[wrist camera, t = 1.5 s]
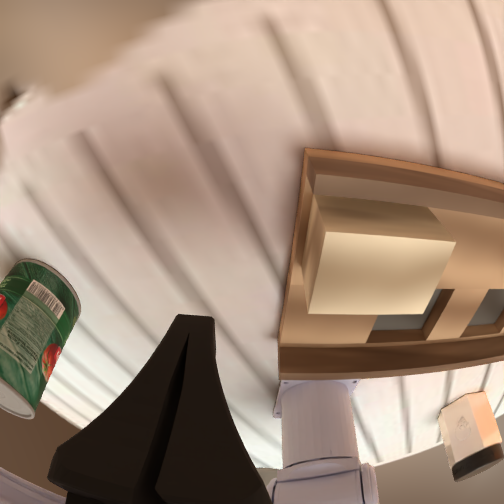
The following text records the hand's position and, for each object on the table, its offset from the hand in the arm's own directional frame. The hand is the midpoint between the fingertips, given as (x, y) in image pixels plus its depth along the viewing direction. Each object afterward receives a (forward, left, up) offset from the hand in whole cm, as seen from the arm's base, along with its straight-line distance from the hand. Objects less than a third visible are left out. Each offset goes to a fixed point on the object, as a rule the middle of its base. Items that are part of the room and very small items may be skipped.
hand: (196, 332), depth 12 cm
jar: (-30, -36, -10) cm, 47 cm away
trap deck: (-4, -18, -9) cm, 20 cm away
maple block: (0, -9, -8) cm, 12 cm away
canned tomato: (-9, +16, -10) cm, 21 cm away
